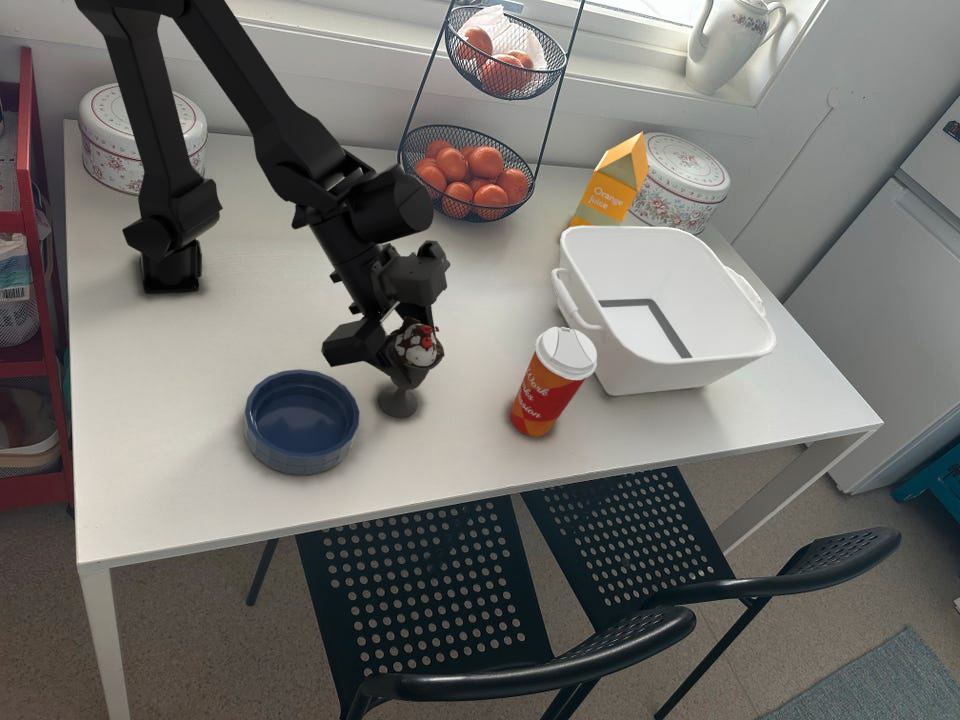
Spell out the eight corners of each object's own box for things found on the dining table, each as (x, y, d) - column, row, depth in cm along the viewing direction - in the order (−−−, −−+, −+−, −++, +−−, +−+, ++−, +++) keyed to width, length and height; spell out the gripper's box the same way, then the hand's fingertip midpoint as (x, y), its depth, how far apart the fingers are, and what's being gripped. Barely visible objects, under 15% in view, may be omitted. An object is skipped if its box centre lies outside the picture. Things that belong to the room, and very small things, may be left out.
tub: (673, 285, 123) (711, 227, 114) (759, 408, 107) (811, 351, 98) (498, 290, 108) (526, 223, 99) (569, 432, 93) (609, 368, 84)
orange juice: (560, 242, 122) (607, 140, 108) (574, 219, 128) (621, 119, 114) (601, 263, 121) (654, 162, 107) (613, 238, 127) (665, 140, 113)
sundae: (417, 430, 86) (448, 346, 75) (364, 412, 85) (388, 325, 75) (430, 392, 91) (461, 308, 80) (380, 374, 90) (405, 288, 80)
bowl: (254, 486, 75) (256, 466, 72) (235, 396, 82) (236, 375, 79) (366, 467, 80) (371, 448, 78) (339, 385, 87) (343, 364, 84)
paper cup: (499, 393, 94) (534, 318, 84) (553, 399, 96) (594, 327, 86) (505, 441, 89) (544, 367, 79) (562, 447, 91) (607, 376, 81)
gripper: (366, 280, 65) (442, 412, 71) (451, 194, 78) (509, 312, 85) (284, 302, 71) (361, 421, 78) (376, 219, 84) (435, 327, 91)
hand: (421, 367), depth 83 cm, fingers closed on sundae, 6 cm apart
